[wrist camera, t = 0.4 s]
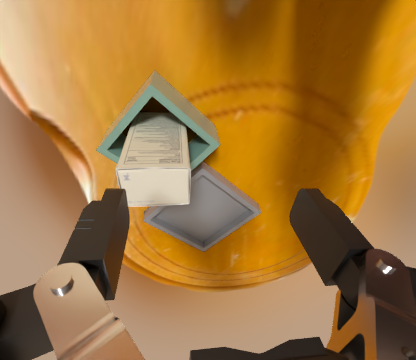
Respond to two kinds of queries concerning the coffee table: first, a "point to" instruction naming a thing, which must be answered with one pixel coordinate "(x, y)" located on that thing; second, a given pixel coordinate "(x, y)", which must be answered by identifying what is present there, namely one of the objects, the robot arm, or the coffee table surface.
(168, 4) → the coffee table surface
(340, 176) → the coffee table surface
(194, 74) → the coffee table surface
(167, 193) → the skincare box
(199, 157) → the teal square open box
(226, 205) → the tray
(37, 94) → the coffee table surface
